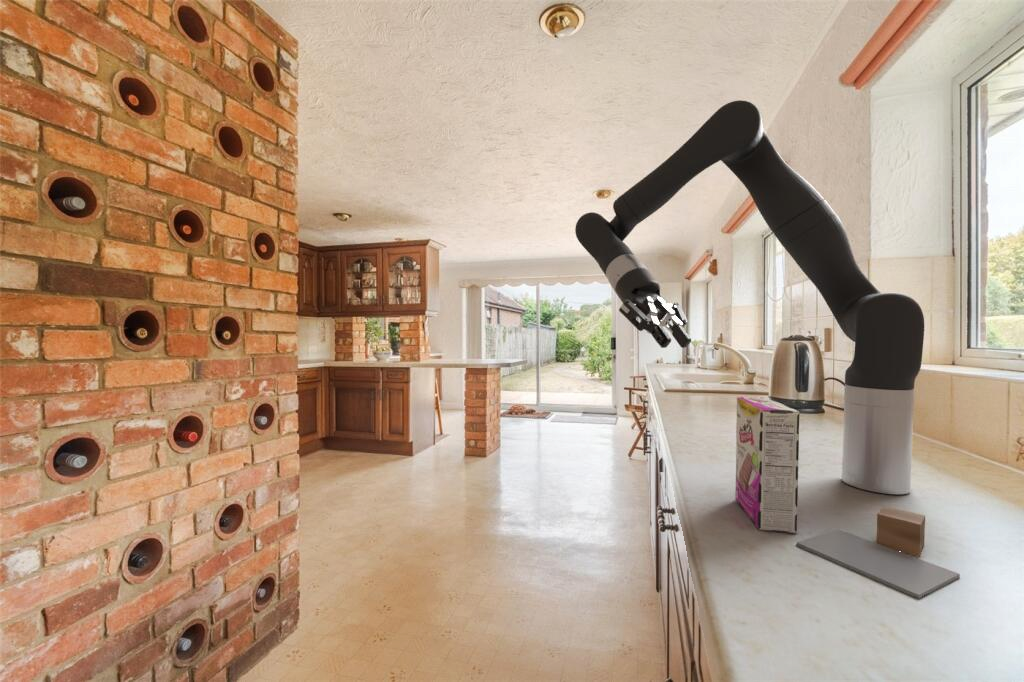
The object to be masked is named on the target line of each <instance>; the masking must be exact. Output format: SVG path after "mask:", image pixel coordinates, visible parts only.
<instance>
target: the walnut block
mask: <svg viewBox="0 0 1024 682" xmlns="http://www.w3.org/2000/svg"><path fill="white" fill-rule="evenodd" d="M876 517H877V518H876V542H875V543H878V544H881V545H883V546H886V547H889V548H891V549H894V550H897V551H901V552H902V553H905V554H906V553H907V555H910V554H911V555H910V556H913V555H914V556H913V557H916V556H918V557H917V558H920V557H921V555H922V553H923V551H922V550H924V549H925V538H926V535H925V534H926V531H925V530H926V515H925V514H921V513H916V512H911V511H908V510H903V509H899V508H896V507H890V506H886V505H883V506H881V509H880V510H879V511H878V512H877V514H876ZM923 548H924V549H923ZM921 552H922V553H921Z"/></svg>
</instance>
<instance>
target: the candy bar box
mask: <svg viewBox="0 0 1024 682" xmlns="http://www.w3.org/2000/svg"><path fill="white" fill-rule="evenodd" d="M800 413H801V412H800V411H799V410H796V409H794V408H792V407H789V406H788V405H785V404H783V403H780V402H778V401H776V400H774V399H771V398H769V397H759V396H758V397H756V396H737V397H736V426H735V427H736V428H735V429H736V431H735V433H736V436H735V437H736V443H735V444H736V445H735V447H736V450H735V451H736V453H735V497H734V498H735V500H736V502H737V504H739V506H740V507H741V508H742V509H743V511H744V512H745V513H746V515H747V516H748V517H749V519H750V520H751V521H752V522H753V524H754V525H755V527H756V528H757V529H758V530H759V531H762V532H763V531H764V532H768V531H771V532H770V533H781V532H783V534H784V533H785V534H797V533H798V506H799V505H798V502H799V501H798V500H799V499H798V498H799V497H798V496H799V493H798V492H799V488H798V487H799V485H798V484H799V458H800V457H799V455H800V454H799V453H800V452H799V451H800V450H799V449H800V441H799V440H800ZM772 531H773V532H772Z"/></svg>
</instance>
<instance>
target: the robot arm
mask: <svg viewBox="0 0 1024 682" xmlns="http://www.w3.org/2000/svg"><path fill="white" fill-rule="evenodd" d="M720 161H721V163H723V164H724V165H725V166H726V167H727V168H728V169H729V170H730V171H731V172H732V173H733V175H735V177H737V179H739V181H740V182H741V184H742V185H743V186H744V187H745V188H746V190H747V191H748V193H749V194H750V196H751V199H752V200H753V202H754V203H755V206H756V208H757V210H758V211H759V214H760V215H761V217H762V218H763V220H764V221H765V223H766V224H767V226H768V228H769V229H770V231H771V232H772V233H773V236H774V237H776V239H777V240H778V243H780V245H781V246H782V247H783V248H784V249H785V250H786V252H787V253H788V254H789V255H790V257H792V259H793V260H794V262H795V263H796V264H797V266H798V267H799V268H800V269H801V271H802V272H803V273H804V274H805V275H806V277H807V278H808V279H809V280H810V281H811V283H812V284H813V285H814V286H815V288H816V289H817V290H818V292H819V293H820V295H821V296H822V297H823V300H824V301H825V303H826V305H827V307H828V309H829V310H830V312H831V313H832V316H833V318H834V319H835V321H836V322H837V324H838V325H839V327H840V329H841V331H842V332H843V334H844V335H845V336H846V337H847V338H848V339H849V340H850V341H852V342H854V351H853V352H854V353H853V358H852V361H851V364H850V365H849V366H848V367H847V368H846V370H845V373H844V374H845V375H844V392H843V393H844V397H843V404H844V405H843V409H844V410H843V430H842V431H843V432H842V457H841V459H842V460H841V461H842V462H841V465H842V466H841V480H842V482H844V483H845V484H846V485H848V486H849V485H850V486H851V487H855V488H857V489H861V490H864V491H868V492H874V493H879V494H884V495H885V494H886V495H887V494H888V495H907V494H909V493H911V484H912V483H911V480H912V479H911V478H912V461H913V459H912V458H913V454H912V453H913V436H914V435H913V433H914V431H913V430H914V402H915V401H914V399H915V398H914V397H915V382H916V378H917V376H919V373H920V372H921V371H920V370H921V368H922V361H923V350H924V339H925V318H924V317H925V316H924V313H923V309H922V307H921V306H920V304H919V302H917V301H916V300H915V299H914V298H913V297H911V296H909V295H906V294H904V293H900V292H893V291H892V292H891V291H889V292H881V291H879V290H878V289H877V287H875V286H874V284H873V283H872V282H871V281H870V279H868V277H867V276H866V275H865V274H864V272H863V270H861V268H860V266H859V265H858V263H857V261H856V259H855V256H854V253H853V249H852V247H851V243H850V241H849V238H848V235H847V231H846V229H845V225H843V223H842V220H841V219H840V217H839V216H838V214H837V213H836V212H835V211H834V210H833V208H832V207H831V206H830V204H829V203H828V201H827V200H826V199H825V198H824V197H823V196H822V194H821V193H820V192H819V191H818V190H817V189H816V188H815V187H814V186H813V185H812V184H811V183H810V182H808V180H807V179H805V178H804V177H803V176H801V174H799V173H798V172H797V171H796V170H795V169H793V168H792V167H791V166H790V165H789V164H787V163H786V161H785V160H784V159H783V158H782V156H781V155H780V154H779V152H778V151H777V149H776V147H775V146H774V144H773V142H772V140H771V139H770V137H769V136H768V134H767V132H766V130H765V128H764V126H763V117H762V115H761V111H760V110H759V108H758V107H757V106H756V105H755V104H753V103H752V102H750V101H747V100H733V101H729V102H728V103H725V104H724V105H722V106H721V107H720V108H718V110H716V111H715V112H714V113H712V115H711V116H710V117H709V118H708V119H707V120H706V121H705V122H704V123H703V124H702V125H701V126H700V127H699V128H698V129H697V130H696V131H695V133H694V134H692V136H691V137H689V138H688V140H686V142H684V143H683V144H682V145H681V146H680V147H679V148H678V149H677V150H676V151H675V152H673V154H672V155H670V156H669V157H667V159H666V160H664V162H662V163H661V164H659V166H657V167H656V168H654V170H653V171H651V172H650V173H648V174H646V176H645V177H643V178H642V179H640V180H639V181H638V182H637V183H635V184H634V185H633V186H631V187H630V188H629V189H628V190H626V191H625V192H624V193H622V194H621V195H620V196H619V197H618V198H617V199H615V200H614V202H613V205H612V209H613V211H614V214H615V215H614V217H612V219H611V220H610V221H608V220H607V219H606V218H605V217H604V216H602V215H601V214H600V213H597V212H587V213H584V214H582V215H581V216H580V217H579V218H578V220H577V222H576V223H575V229H574V230H575V231H574V233H575V236H576V239H577V240H578V241H577V242H579V244H581V246H582V247H583V248H584V249H585V251H586V252H588V254H589V255H590V256H591V257H592V258H594V260H595V261H596V263H597V265H598V266H599V268H600V269H601V271H602V273H603V274H604V276H605V277H606V278H607V281H608V282H609V285H610V286H611V288H612V289H613V291H614V292H615V294H616V295H617V297H618V298H619V300H620V301H621V303H622V305H621V306H620V307H619V309H618V310H619V312H620V313H621V314H622V315H623V316H624V317H625V318H626V320H628V321H629V322H630V323H631V325H633V326H634V327H635V329H637V330H638V331H639V332H643V331H645V332H646V333H648V334H651V336H652V337H653V339H654V340H655V342H656V343H657V344H658V345H659V347H660V348H662V349H664V348H667V347H668V346H669V345H670V344H671V342H672V338H673V339H675V341H676V342H677V343H678V345H679V346H680V347H681V348H685V349H686V348H687V347H688V346H689V345H690V344H691V342H692V338H691V337H690V335H689V334H688V332H687V331H686V330H685V328H684V327H685V326H686V325H687V324H688V322H689V321H688V318H687V317H686V314H685V312H684V310H683V308H682V305H681V304H680V303H679V302H677V301H675V302H674V303H673V304H672V303H668V301H667V300H666V299H665V298H663V296H662V295H661V287H660V283H659V282H658V281H657V280H656V278H655V277H654V276H653V275H652V273H651V272H650V271H649V270H648V268H647V267H646V266H645V264H644V263H643V262H642V261H641V260H640V259H639V258H638V257H637V256H636V255H635V254H634V253H633V251H632V250H631V249H630V246H628V245H627V244H626V243H624V240H625V239H626V238H627V237H628V236H629V235H630V234H631V232H632V231H633V230H634V229H635V227H637V225H638V224H640V223H641V222H643V221H645V220H646V219H647V218H649V217H650V216H651V215H653V214H654V213H656V212H657V211H658V210H659V209H661V208H662V207H663V206H664V205H666V204H667V203H668V202H669V201H671V200H672V198H673V197H674V196H675V195H676V194H677V193H678V192H679V191H681V189H682V188H684V187H685V186H686V184H688V183H689V182H690V181H691V180H693V179H694V178H695V177H697V176H698V175H699V174H700V173H703V171H705V170H706V169H708V168H710V167H712V166H713V165H715V164H716V163H718V162H720ZM637 318H639V320H640V321H638V320H637ZM670 321H671V322H672V324H671V323H670ZM664 328H666V329H667V330H668V332H670V333H671V336H672V338H671V337H670V335H669V334H668V332H667V331H666V330H665V329H664Z"/></svg>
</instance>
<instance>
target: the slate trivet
mask: <svg viewBox="0 0 1024 682" xmlns="http://www.w3.org/2000/svg"><path fill="white" fill-rule="evenodd" d="M795 543H796V546H797V547H799V548H801V549H804V550H805V551H808V552H811V553H813V554H815V555H818V556H819V557H821V558H824V559H826V560H828V561H831V562H833V563H835V564H838V565H840V566H842V567H845V568H847V569H850V570H852V571H853V572H856V573H859V574H862V575H863V576H866V577H868V578H869V579H870V578H871V579H872V580H874V581H877V582H879V583H882V584H884V585H886V586H888V587H891V588H893V589H895V590H898V591H900V592H902V593H904V594H907V595H909V596H911V595H912V596H911V597H913V596H915V597H914V598H916V597H917V598H916V599H918V598H919V599H921V598H923V597H925V596H927V595H929V594H931V593H933V592H935V591H936V589H937V590H938V588H939V589H941V588H943V587H944V586H946V585H948V584H950V583H952V582H954V581H956V580H958V579H960V573H958V572H955V571H953V570H950V569H947V568H944V567H942V566H939V565H937V564H935V563H932V562H929V561H926V560H923V559H921V558H919V557H916V556H913V555H910V554H906V553H903V552H899V551H897V550H894V549H891V548H889V547H886V546H883V545H881V544H878V543H876V542H875V541H872V540H869V539H867V538H864V537H861V536H858V535H856V534H853V533H851V532H848V531H845V530H843V529H840V528H836V529H833V530H829V531H827V532H825V533H821V534H818V535H814V536H811V537H808V538H804V539H803V540H802V539H801V540H800V541H796V542H795ZM940 587H941V588H940ZM934 590H935V591H934ZM932 591H933V592H932ZM930 592H931V593H930ZM928 593H929V594H928ZM926 594H927V595H926ZM924 595H925V596H924ZM922 596H923V597H922ZM920 597H921V598H920Z"/></svg>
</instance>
